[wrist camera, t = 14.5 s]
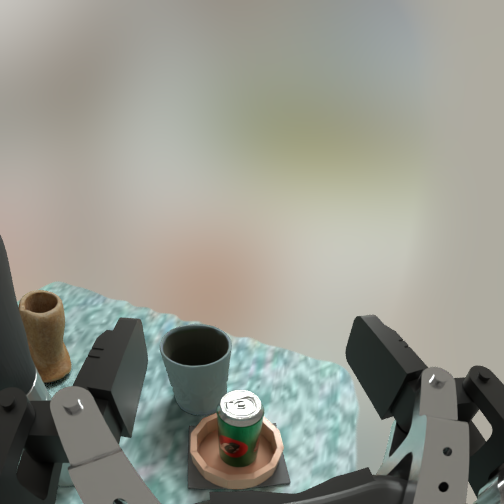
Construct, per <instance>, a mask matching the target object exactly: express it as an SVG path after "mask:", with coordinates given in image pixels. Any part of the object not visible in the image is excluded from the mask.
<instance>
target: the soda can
mask: <svg viewBox="0 0 504 504" xmlns="http://www.w3.org/2000/svg"><path fill="white" fill-rule="evenodd" d="M263 417H264V407H263V405H262V403H261V401H260V399H259V398H258V397H257V396H256V395H255V394H253V393H252V392H249V391H245V390H235V391H231V392H229V393H227V394H225V395H224V396H223V397H222V399H221V401H220V402H219V404H218V406H217V426H218V442H219V455H220V458H221V459H222V460H223V462H225V463H226V464H227V465H230V466H232V467H245V466H248V465H250V464H252V463H253V462H254V461H255V459H256V458H257V454H258V448H259V442H260V436H261V429H262V423H263Z"/></svg>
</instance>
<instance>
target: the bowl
mask: <svg viewBox="0 0 504 504" xmlns="http://www.w3.org/2000/svg"><path fill="white" fill-rule="evenodd" d="M283 449H284V447H283V443H282V439H281V435H280V431H279V430H278V429H277V428H276V427H275V426H274V425H273V424H272V423H271V422H270V421H269V420H267V419H266V418H265V417H263V423H262V429H261V436H260V442H259V448H258V454H257V458H256V459H255V461H254V462H253V463H252V464H250V465H248V466H245V467H232V466H230V465H227V464H226V463H225V462H223V460H222V459H221V458H220V455H219V442H218V426H217V413H215V414H212V415H210V416H208V417H205V418H203V419H202V420H201V421H200V423H199V424H198V425H197V426H196V428H195V429H194V430H193V431H192V433H191V446H190V453H191V457H192V461H193V463H194V465H195V466H196V468H197V469H198V471H199V472H200V474H201V475H202V476H203V477H204V478H205V479H207V480H208V481H210V482H211V483H213V484H215V485H217V486H220V487H223V488H227V489H247V488H251V487H254V486H257V485H259V484H261V483H263V482H264V481H266V480H267V479H268V478H269V477H271V476H272V475H273V473H274V471H275V469H276V467H277V465H278V463H279V460H280V458H281V455H282V452H283Z"/></svg>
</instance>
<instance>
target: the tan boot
mask: <svg viewBox="0 0 504 504" xmlns="http://www.w3.org/2000/svg"><path fill="white" fill-rule="evenodd" d="M19 312H20V315H21V319H22V322H23V325H24V328H25V332H26V336H27V341H28V345H29V350H30V354H31V357H32V360H33V362H34V364H35V367H36V369H37V371H38V373H39V375H40V377H41V379H42V381H43V383H47V382H53V381H56V380H59V379H61V378H63V377H64V376H65V375H66V374H69V373H70V371H71V360H70V356H69V353H68V351H67V349H66V347H65V344H64V342H63V335H64V328H65V315H64V308H63V304H62V301H61V299H60V298H59V297H58V296H57V295H56V294H54V293H52V292H48V291H44V290H36V291H31V292H29V293H27V294H25V295H24V296H23V297H22V298H21V300H20V302H19Z"/></svg>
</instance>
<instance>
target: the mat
mask: <svg viewBox="0 0 504 504" xmlns="http://www.w3.org/2000/svg"><path fill="white" fill-rule="evenodd" d="M273 425H274V426H275V427H276V423H273ZM195 428H196V426H189V445H188V488H189V489H227V488H223V487H220V486H217V485H215V484H213V483H211V482H210V481H208V480H207V479H205V478H204V477H203V476H202V475H201V474H200V472H199V471H198V469H197V468H196V466H195V465H194V463H193V461H192V457H191V453H190V446H191V433H192V431H193V430H194V429H195ZM276 428H277V427H276ZM289 483H290V478H289V475H288V471H287V467H286V463H285V459H284V455H283V452H282V455H281V458H280V460H279V463H278V465H277V467H276V469H275V471H274V473H273V475H272V476H271V477H269V478H268V479H267V480H266V481H264V482H263V483H261V484H259V485H257V486H254V487H265V486H274V485H282V484H289ZM254 487H251V488H254Z"/></svg>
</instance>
